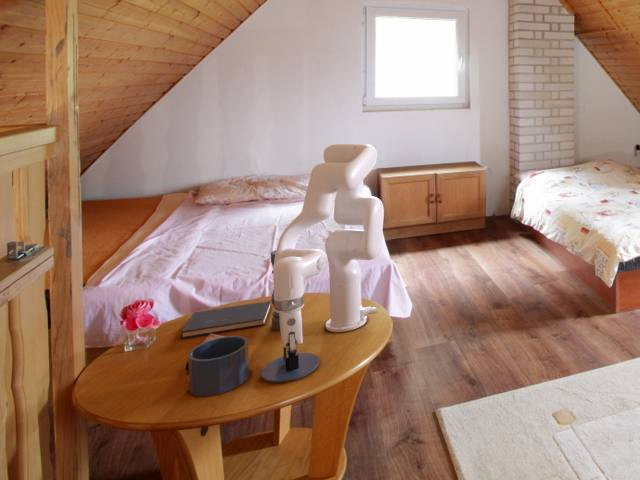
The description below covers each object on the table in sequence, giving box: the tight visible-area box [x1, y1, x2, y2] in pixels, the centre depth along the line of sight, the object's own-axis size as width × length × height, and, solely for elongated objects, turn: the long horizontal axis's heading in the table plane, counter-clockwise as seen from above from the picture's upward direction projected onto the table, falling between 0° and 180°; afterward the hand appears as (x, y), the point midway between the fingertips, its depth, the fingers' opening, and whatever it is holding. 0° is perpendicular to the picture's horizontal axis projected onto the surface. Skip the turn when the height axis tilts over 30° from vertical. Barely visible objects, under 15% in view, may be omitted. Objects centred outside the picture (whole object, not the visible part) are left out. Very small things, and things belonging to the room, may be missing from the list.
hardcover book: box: [180, 300, 272, 340], centre depth 194 cm, size 16×23×2 cm
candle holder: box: [270, 249, 280, 332], centre depth 190 cm, size 6×6×25 cm
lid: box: [260, 348, 320, 383], centre depth 163 cm, size 15×15×6 cm
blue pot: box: [187, 335, 250, 397], centre depth 158 cm, size 14×14×10 cm
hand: (291, 364), depth 164 cm, fingers open, 5 cm apart
